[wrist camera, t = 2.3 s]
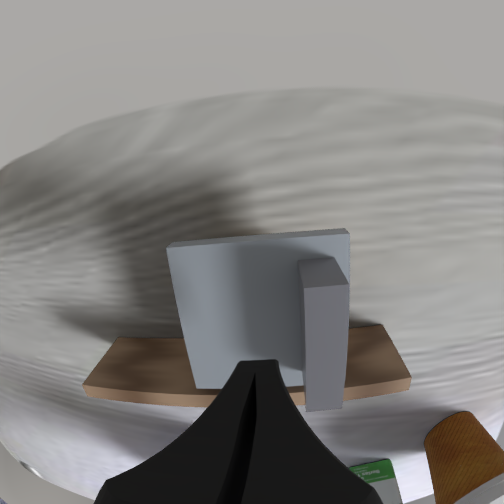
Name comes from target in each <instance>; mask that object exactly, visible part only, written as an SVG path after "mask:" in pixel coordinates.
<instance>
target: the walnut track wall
mask: <svg viewBox="0 0 504 504" xmlns="http://www.w3.org/2000/svg"><path fill="white" fill-rule="evenodd" d="M411 378H412V377H411V375H410V373H409V371H408V369H407V368H406V366H405V364H404V362H403V360H402V358H401V357H400V355H399V353H398V351H397V349H396V348H395V346H394V344H393V342H392V340H391V339H390V337H389V335H388V333H387V332H386V330H385V328H384V326H383V325H375V326H367V327H359V328H350V329H348V346H347V362H346V375H345V384H344V395H343V401H345V400H352V399H360V398H366V397H373V396H379V395H385V394H391V393H396V392H401V391H406V390H409V387H410V382H411ZM82 386H83V388H84V390H85V392H86V394H87V396H89V397H95V398H102V399H109V400H117V401H125V402H134V403H143V404H154V405H168V406H184V407H208V406H209V405H210V404H211V403H212V401H213V400H214V399H215V398H216V396H217V395H218V393H219V392H220V391H221V389H198V388H196V384H195V380H194V376H193V373H192V369H191V365H190V361H189V356H188V352H187V348H186V344H185V340H184V338H123V337H118V338H117V339H116V341H115V342H114V343H113V345H112V346H111V347H110V348H109V350H108V351H107V352H106V354H105V355H104V356H103V358H102V359H101V360H100V362H99V363H98V364H97V365H96V367H95V368H94V369H93V371H92V372H91V373H90V375H89V376H88V377H87V379H86V380H85V381H84V383H83V384H82ZM286 388H287V390H288V392H289V394H290V396H291V398H292V400H293V402H294V404H295V405H305V395H304V386H303V385H302V386H288V387H286Z"/></svg>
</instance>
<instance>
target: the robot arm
mask: <svg viewBox="0 0 504 504" xmlns="http://www.w3.org/2000/svg"><path fill="white" fill-rule="evenodd" d="M0 504H7V503H6V502H4V501H3V500H2V499H1V498H0ZM94 504H383V502H382V500H381V498H380V496H379V495H378V493H377V491H376V490H375V488H374V487H373V486H371V485H370V484H368V483H367V482H365V481H364V480H363V479H361V478H360V477H359V476H357V475H356V474H355V473H353V472H352V471H351V470H350V469H349V468H348V467H346V466H345V465H344V464H343V463H342V462H341V461H340V460H339V459H338V458H337V457H336V456H335V455H334V454H333V453H332V452H331V451H330V450H329V449H328V448H327V447H326V446H325V445H324V444H323V443H322V442H321V441H320V440H319V438H318V437H317V436H316V435H315V434H314V432H313V431H312V430H311V428H310V427H309V426H308V424H307V423H306V421H305V420H304V418H303V417H302V415H301V414H300V412H299V411H298V409H297V407H296V406H295V404H294V402H293V400H292V398H291V396H290V394H289V392H288V390H287V388H286V386H285V383H284V381H283V378H282V375H281V372H280V368H279V361H277V360H276V359H267V360H243V361H239V362H238V363H237V365H236V367H235V369H234V371H233V372H232V374H231V376H230V377H229V379H228V380H227V382H226V383H225V385H224V386H223V388H222V389H221V391H220V392H219V393H218V395H217V396H216V398H215V399H214V400H213V401H212V403H211V404H210V405H209V406H208V407H207V409H206V410H205V411H204V412H203V413H202V415H201V416H200V417H199V418H198V419H197V420H196V421H195V422H194V423H193V424H192V425H191V426H190V427H189V428H188V429H187V430H186V431H185V432H184V433H183V434H181V435H180V436H179V437H178V438H177V439H176V440H174V441H173V442H172V443H171V444H169V445H168V446H167V447H165V448H164V449H163V450H161V451H160V452H159V453H157V454H155V455H154V456H152V457H151V458H149V459H148V460H146V461H144V462H143V463H141V464H139V465H138V466H136V467H134V468H132V469H130V470H128V471H126V472H124V473H121V474H119V475H117V476H115V477H113V478H110V479H108V480H106V481H105V483H104V485H103V486H102V488H101V489H100V491H99V493H98V495H97V497H96V500H95V502H94Z"/></svg>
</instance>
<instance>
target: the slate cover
mask: <svg viewBox="0 0 504 504" xmlns="http://www.w3.org/2000/svg"><path fill="white" fill-rule="evenodd" d="M166 251H167V257H168V262H169V268H170V273H171V278H172V284H173V289H174V294H175V299H176V303H177V308H178V313H179V317H180V322H181V327H182V331H183V335H184V340H185V344H186V348H187V352H188V356H189V361H190V365H191V369H192V373H193V376H194V380H195V384H196V388H198V389H222V388H223V386H224V385H225V383H226V382H227V380H228V379H229V377H230V376H231V374H232V372H233V371H234V369H235V367H236V365H237V363H238V362H239V361H243V360H267V359H276V360H277V361H279V368H280V372H281V375H282V378H283V381H284V383H285V386H286V387H288V386H302V385H303V386H304V395H305V406H306V412H311V411H321V410H331V409H339V408H342V405H343V395H344V384H345V375H346V362H347V346H348V327H349V299H350V233H349V232H348V231H347V230H346V229H345V228H342V229H328V230H314V231H300V232H287V233H274V234H261V235H249V236H237V237H225V238H213V239H201V240H190V241H179V242H172V243H171V244H170V245H169V246H168V247H167V248H166Z"/></svg>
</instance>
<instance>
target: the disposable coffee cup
mask: <svg viewBox="0 0 504 504" xmlns="http://www.w3.org/2000/svg"><path fill="white" fill-rule="evenodd" d="M424 447H425V451H426V455H427V460H428V464H429V469H430V474H431V479H432V484H433V489H434V495H435V501H436V504H504V451H503V450H502V449H501V448H500V446H499V445H498V444H497V443H496V441H495V440H494V439H493V438H492V436H491V435H490V434H489V433H488V432H487V431H486V429H485V428H484V427H483V426H482V425H481V424H480V422H479V421H478V420H477V419H476V418H475V416H474V415H473V414H472V413H470V412H460V413H457V414H454V415H452V416H450V417H448V418H446V419H445V420H443V421H442V422H440V423H439V424H438V425H436V426H435V427H434V428H433V429H432V430H431V431H430V432H429V434H428V435H427V437H426V439H425V441H424Z"/></svg>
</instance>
